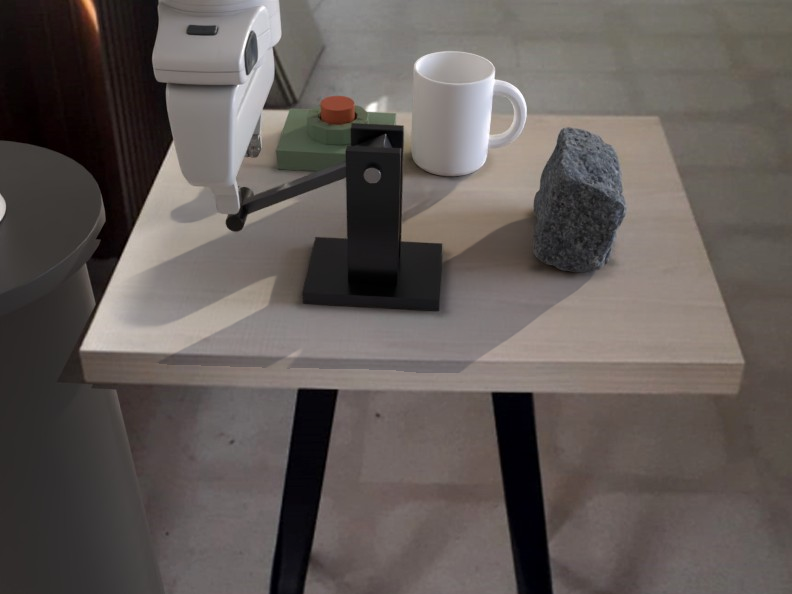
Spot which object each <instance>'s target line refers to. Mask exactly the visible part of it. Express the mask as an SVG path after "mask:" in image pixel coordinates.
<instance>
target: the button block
mask: <svg viewBox="0 0 792 594" xmlns="http://www.w3.org/2000/svg"><path fill="white" fill-rule="evenodd" d="M354 108H355V119H354V121H352V122H351V123H347V124H342V125H335V124H329V123H326V122H323V121H322V120H321V105H320V104H318V105H316V106H314V107H312V108H291V107H290V108H289V110H288V114H287V116H286V120H285V122H284V125H283V128H282V131H281V134H280V136H279V140H278V143H277V146H276V149H275V157H276V169H277V170H286V171H287V170H289V171H290V170H291V171H309V172H317V171H319V170H322V169H325V168H327V167H330V166H332V165H335V164H338V163H340V162H343V161H346V159H345V151H346V146H351V130H350V128H351V124H352V123H361V124H382V125H397V113H396V112H379V111H378V112H377V111H375V112H374V111H367V110H366V109H365V108H364V107H362V106H360V105H357V104H354Z"/></svg>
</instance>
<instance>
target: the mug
mask: <svg viewBox="0 0 792 594" xmlns="http://www.w3.org/2000/svg"><path fill="white" fill-rule="evenodd" d="M412 75H413V76H412V102H411V103H412V105H411V106H412V107H411V137H410V139H411V141H410V150H411V157H412V160H413V161H414V163H415V164H416V165H417V166H418V167H419V168H420V169H421V170H423V171H425V172H427V173H429V174H432V175H437V176H441V177H461V176H465V175H470V174H472V173H475V172H477V171H478V170H479V169H480V168H482V167H483V166H484V165H485V163H486V161H487V158H488V151H489V149H491V150H493V149H500V148H504V147H506V146H508V145H510V144H511V143H513V142H515V141H516V140H517V139H518V138H519V136H520V135H521V133H522V132H523V130H524V127H525V125H526V120H527V114H528V111H527V110H528V109H527V103H526V99H525V97H524V96H523V94H522V92H521V91H520V90H519V89H518V88H517V87H516V86H515V85H513V84H511V83H510V82H507V81H505V80H501V79H495V76H496V68H495V65H494V64H493V62H491V61H490V60H489V59H487V58H486V57H484V56H481V55H478V54H475V53H471V52H467V51H457V50H443V51H436V52H431V53H428V54H425V55H422V56H420V57H419V58H418V59H416V60H415V62H414V64H413V74H412ZM494 96H496V97H502V98H505V99H508V101H510V103H511V106H512V107H513V120H512V123H511V125H510V126H509V127H508V128H507V130H505V131H504V132H502V133H497V134H491V133H490V131H491V122H492V121H491V119H492V110H493V109H492V108H493V100H494V99H493V97H494Z"/></svg>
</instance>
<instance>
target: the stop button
mask: <svg viewBox="0 0 792 594" xmlns="http://www.w3.org/2000/svg"><path fill="white" fill-rule="evenodd" d="M319 105H321V120H322V121H323V122H326V123H329V124H335V125H342V124H347V123H351V122H352V121H354V119H355V108H354V105H355V101H354V100H353V98H351V97H348V96H344V95H330V96H327V97H325V98H323V99H322V100H321V101H320V104H319Z"/></svg>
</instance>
